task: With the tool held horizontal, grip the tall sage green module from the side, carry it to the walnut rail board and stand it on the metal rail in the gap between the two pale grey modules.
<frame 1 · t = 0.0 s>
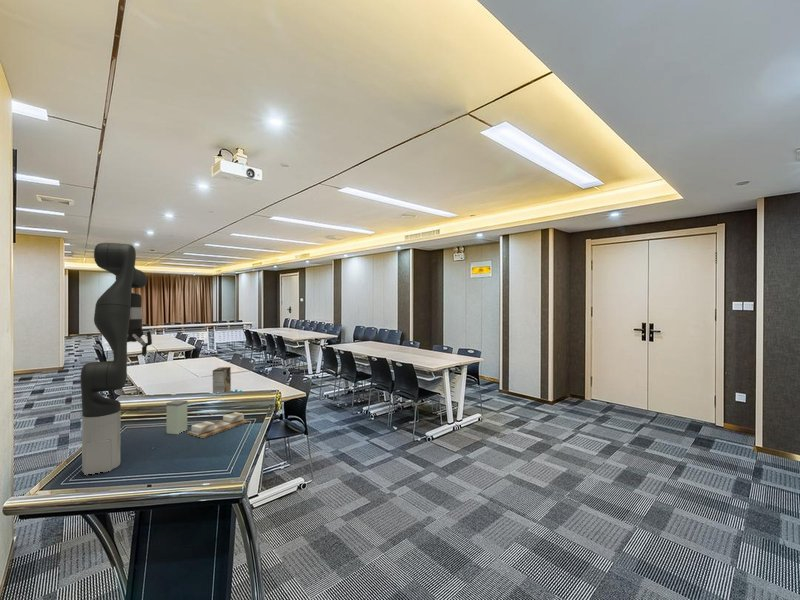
hand: (131, 356, 151), 29 cm above the table, tool pointing down, fingers open, 8 cm apart
rail board: (218, 428, 146), on the table
coffee box: (221, 398, 194), on the table
gear: (238, 405, 179), on the table
module: (177, 431, 142), on the table
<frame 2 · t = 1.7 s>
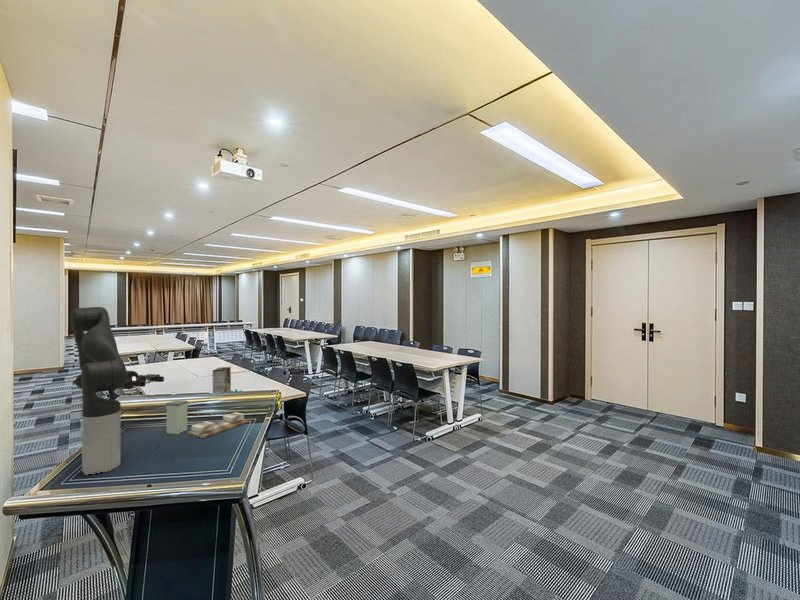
hand: (154, 381, 145), 20 cm above the table, tool horizontal, fingers open, 8 cm apart
nothing on the table moved.
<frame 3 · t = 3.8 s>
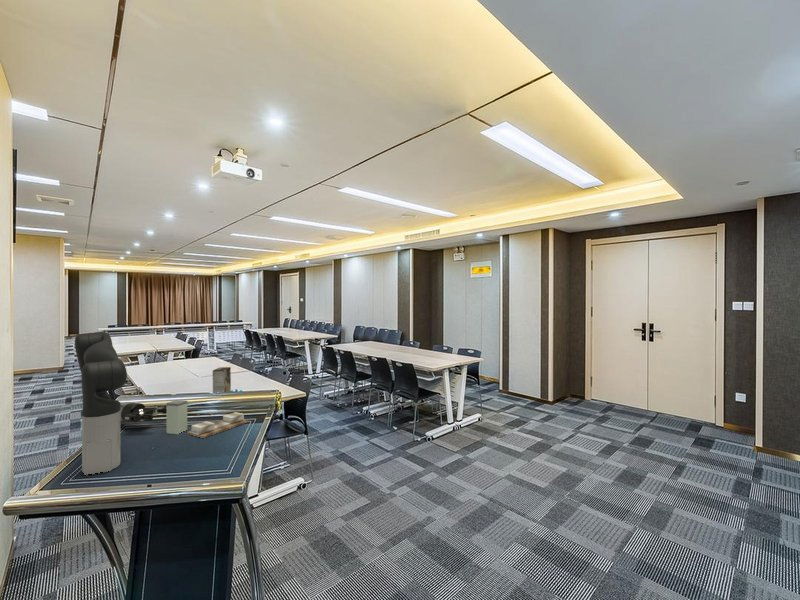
hand: (161, 414, 144), 7 cm above the table, tool horizontal, fingers open, 8 cm apart
nothing on the table moved.
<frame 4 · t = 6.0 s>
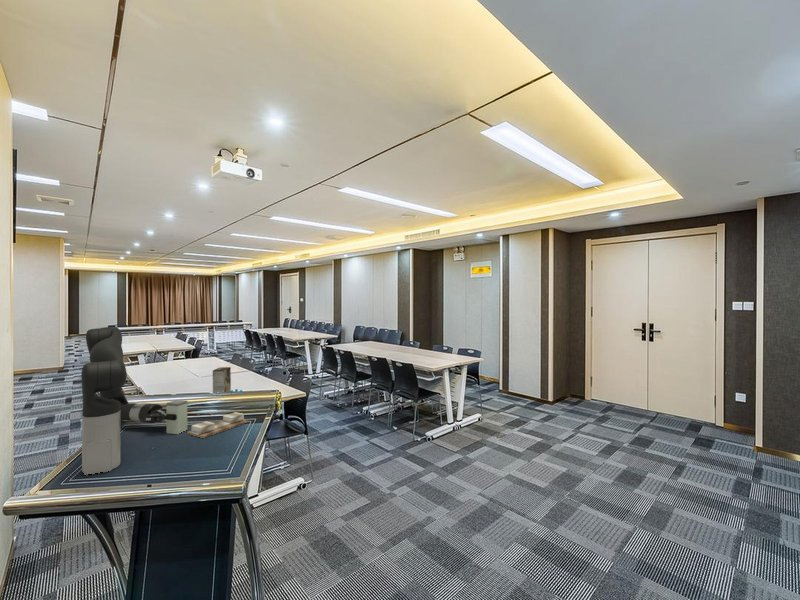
hand: (181, 415, 142), 7 cm above the table, tool horizontal, fingers closed on module, 4 cm apart
module: (177, 431, 142), on the table, touching gripper
everything else where it was.
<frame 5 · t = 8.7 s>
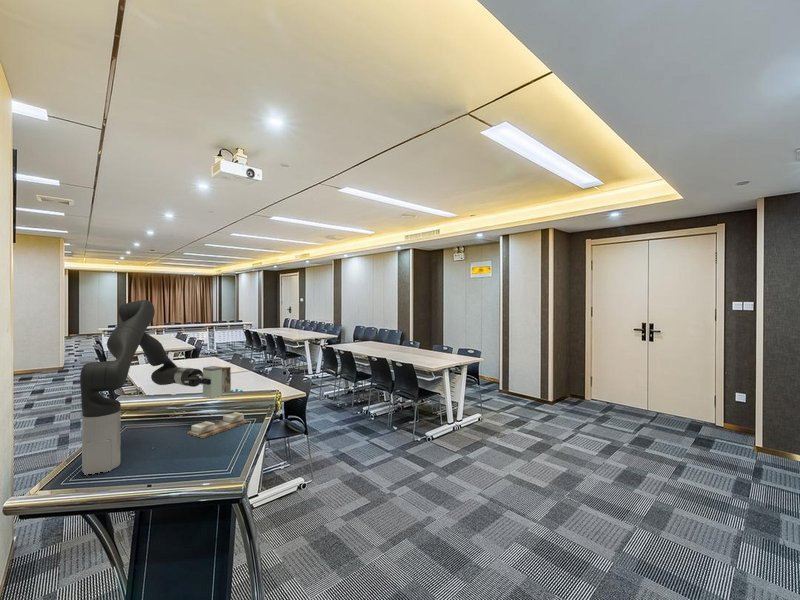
hand: (215, 380, 146), 20 cm above the table, tool horizontal, fingers closed on module, 4 cm apart
module: (212, 396, 146), point 13 cm above the table, touching gripper
everything else where it was.
when the fingers open (10 cm above the table, at t = 11.3 s): module drops 2 cm, resting on rail board.
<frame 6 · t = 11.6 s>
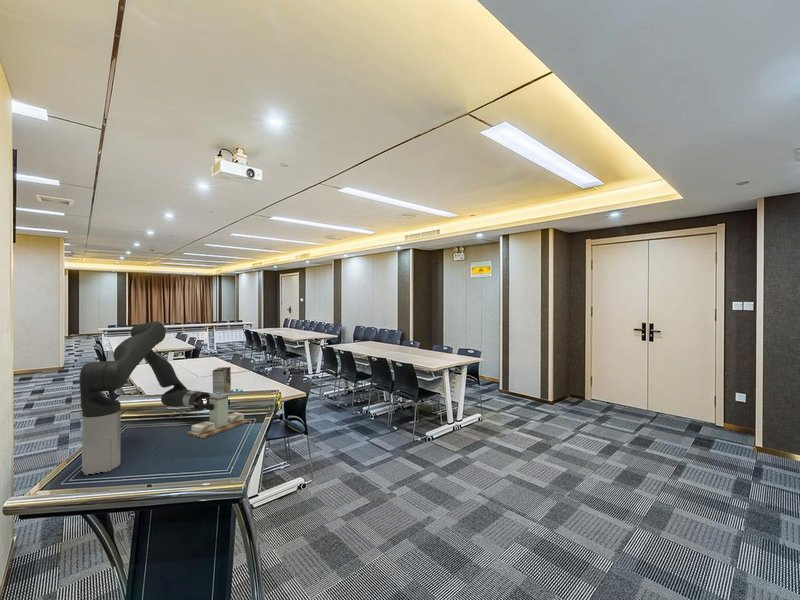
hand: (221, 405, 145), 10 cm above the table, tool horizontal, fingers open, 6 cm apart
module: (218, 425, 146), point 1 cm above the table, touching rail board
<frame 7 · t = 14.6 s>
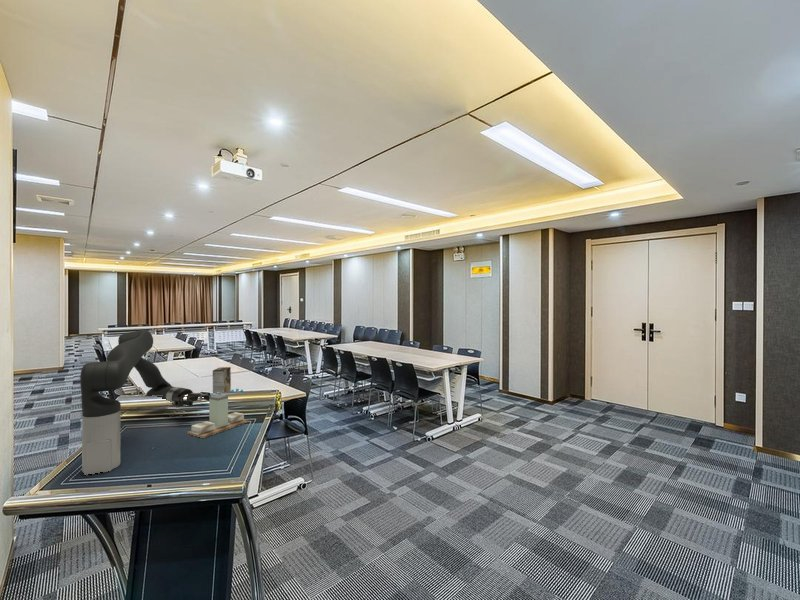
hand: (201, 400, 151), 10 cm above the table, tool horizontal, fingers open, 8 cm apart
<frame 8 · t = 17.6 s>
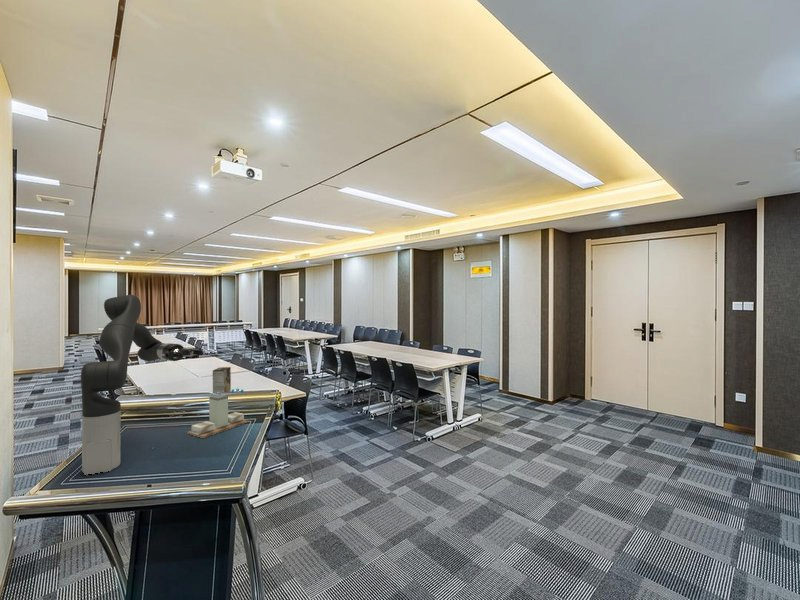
hand: (192, 354, 151), 30 cm above the table, tool horizontal, fingers open, 8 cm apart
at the end: module 0.1 cm off-centre on the rail board, point 1.3 cm above the rail board's base; module tilted 0°; the gripper is holding nothing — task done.
